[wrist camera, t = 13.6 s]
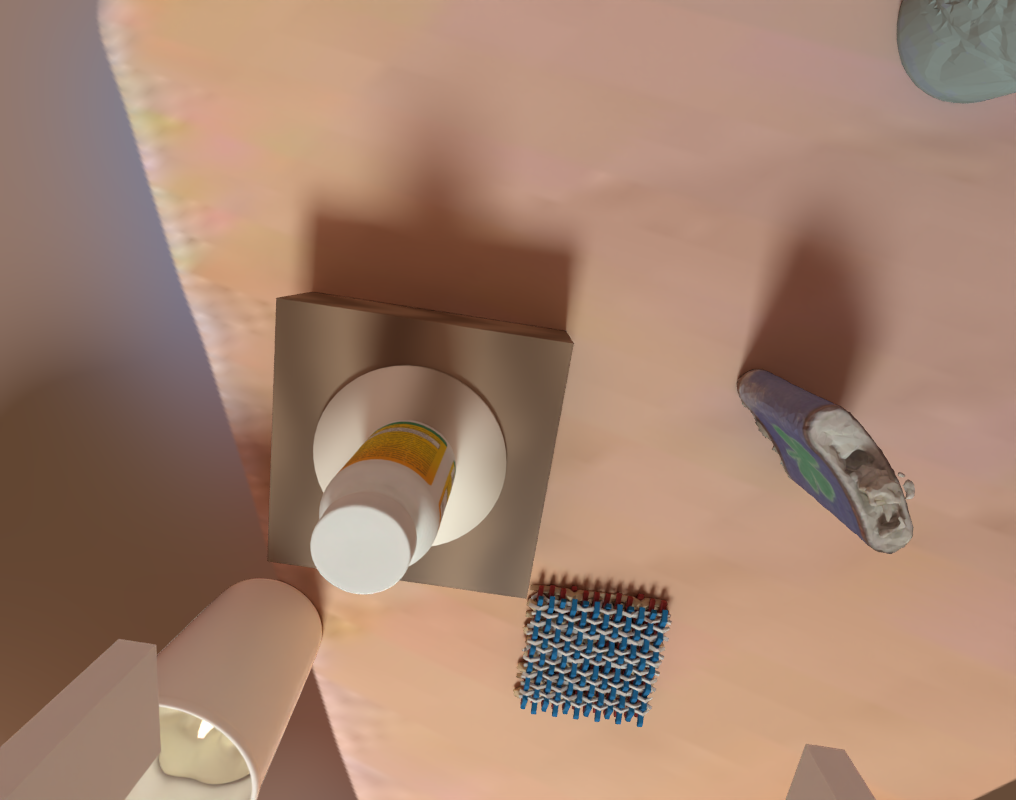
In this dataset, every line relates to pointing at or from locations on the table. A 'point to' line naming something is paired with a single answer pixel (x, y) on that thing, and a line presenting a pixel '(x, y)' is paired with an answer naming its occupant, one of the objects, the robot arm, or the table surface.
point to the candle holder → (230, 692)
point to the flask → (831, 459)
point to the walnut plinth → (427, 399)
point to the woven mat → (605, 656)
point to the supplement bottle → (383, 507)
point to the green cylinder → (959, 47)
